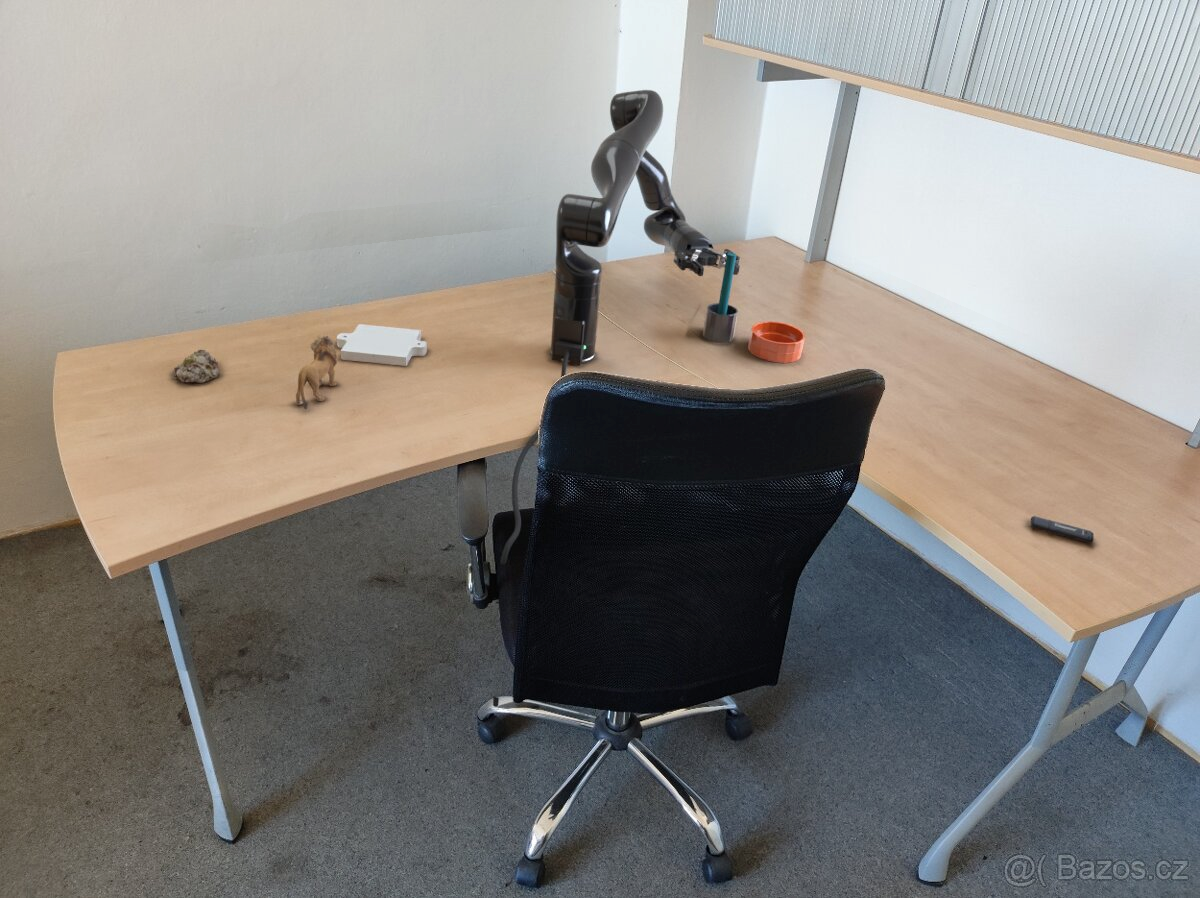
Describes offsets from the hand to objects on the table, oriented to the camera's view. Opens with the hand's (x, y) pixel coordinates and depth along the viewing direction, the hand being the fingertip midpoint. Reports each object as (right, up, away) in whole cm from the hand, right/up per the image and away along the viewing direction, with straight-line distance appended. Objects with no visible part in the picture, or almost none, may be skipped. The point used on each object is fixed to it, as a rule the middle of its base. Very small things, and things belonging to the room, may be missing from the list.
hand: (719, 271), depth 196 cm
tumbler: (0, -14, +4) cm, 15 cm away
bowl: (+12, -18, 0) cm, 22 cm away
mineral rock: (-102, -25, -30) cm, 109 cm away
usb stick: (+49, -53, -50) cm, 88 cm away
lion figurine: (-79, -29, -32) cm, 90 cm away
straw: (0, -14, +4) cm, 14 cm away
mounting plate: (-71, -19, -15) cm, 75 cm away
